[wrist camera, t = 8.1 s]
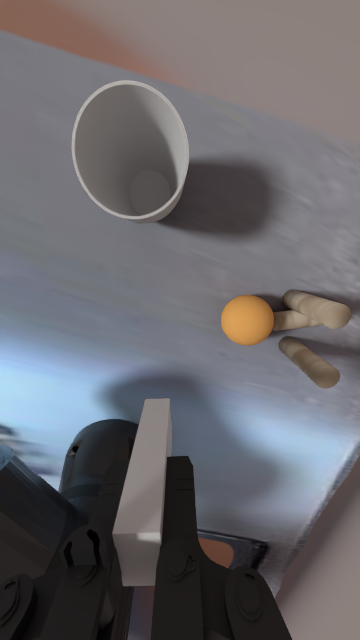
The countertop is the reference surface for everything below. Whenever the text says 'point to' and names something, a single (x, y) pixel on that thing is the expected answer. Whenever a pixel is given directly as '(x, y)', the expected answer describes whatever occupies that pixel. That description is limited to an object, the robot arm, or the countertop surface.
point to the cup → (131, 151)
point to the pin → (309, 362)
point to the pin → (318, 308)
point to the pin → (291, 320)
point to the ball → (247, 320)
